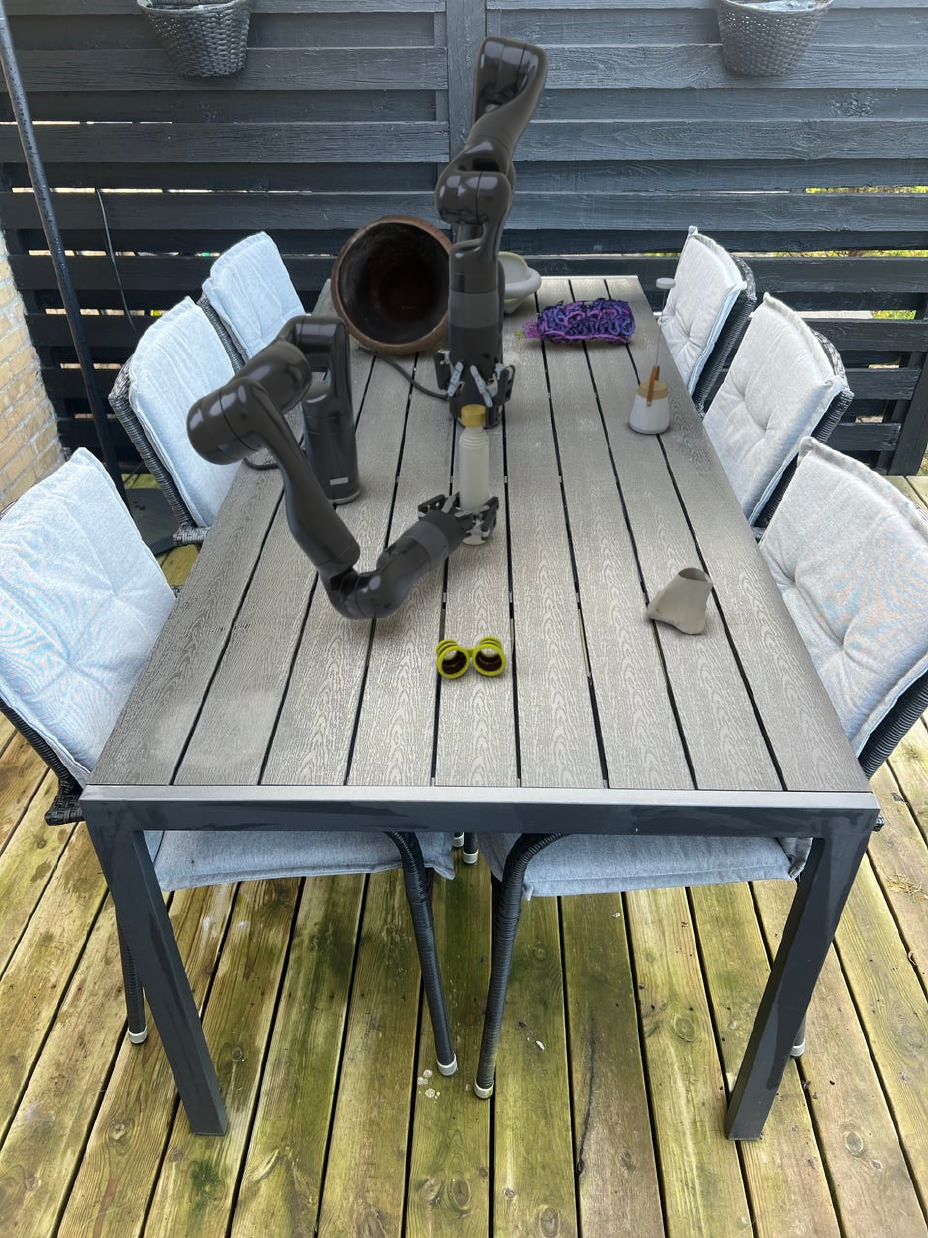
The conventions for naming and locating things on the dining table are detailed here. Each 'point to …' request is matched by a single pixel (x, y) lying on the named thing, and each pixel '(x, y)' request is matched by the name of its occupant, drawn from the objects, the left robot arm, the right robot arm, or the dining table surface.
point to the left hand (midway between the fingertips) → (482, 497)
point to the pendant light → (652, 393)
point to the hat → (517, 280)
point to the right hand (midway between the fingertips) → (473, 420)
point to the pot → (394, 284)
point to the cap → (473, 415)
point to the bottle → (473, 472)
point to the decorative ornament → (582, 322)
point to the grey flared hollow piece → (683, 601)
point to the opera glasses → (462, 658)
